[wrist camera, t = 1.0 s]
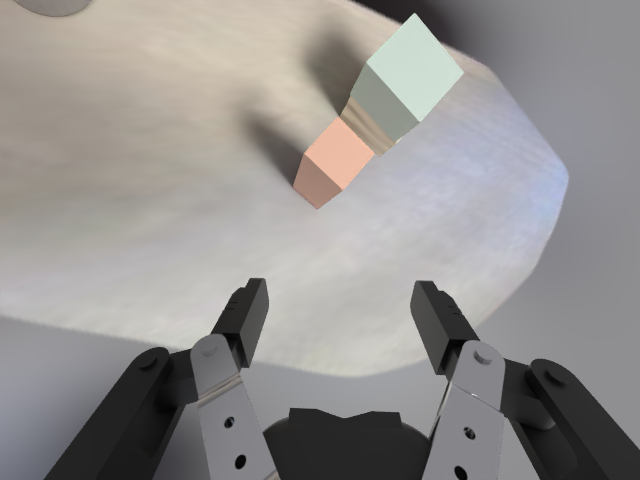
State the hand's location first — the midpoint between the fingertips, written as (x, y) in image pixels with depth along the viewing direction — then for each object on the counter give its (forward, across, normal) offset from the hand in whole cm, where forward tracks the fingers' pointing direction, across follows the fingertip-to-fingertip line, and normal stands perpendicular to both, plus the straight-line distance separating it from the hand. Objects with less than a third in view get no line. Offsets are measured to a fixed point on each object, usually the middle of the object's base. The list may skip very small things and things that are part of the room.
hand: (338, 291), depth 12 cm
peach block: (+22, +3, 0) cm, 22 cm away
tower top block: (+24, -7, -10) cm, 27 cm away
